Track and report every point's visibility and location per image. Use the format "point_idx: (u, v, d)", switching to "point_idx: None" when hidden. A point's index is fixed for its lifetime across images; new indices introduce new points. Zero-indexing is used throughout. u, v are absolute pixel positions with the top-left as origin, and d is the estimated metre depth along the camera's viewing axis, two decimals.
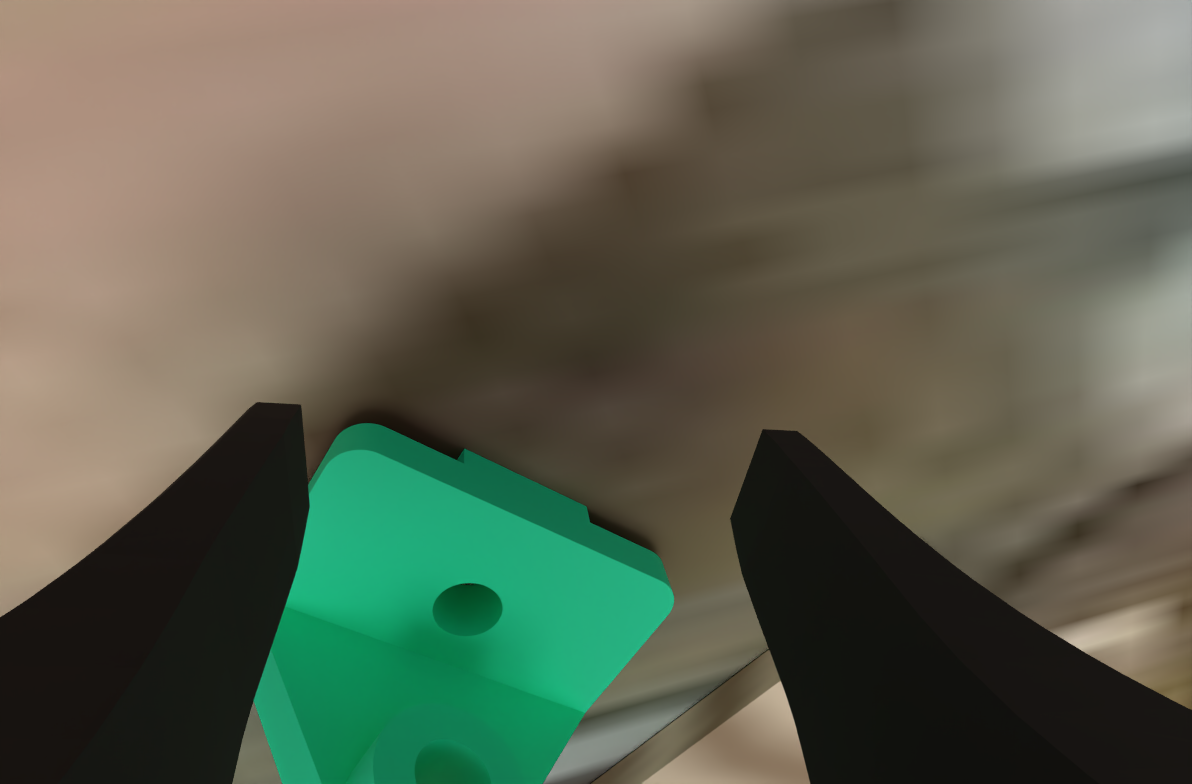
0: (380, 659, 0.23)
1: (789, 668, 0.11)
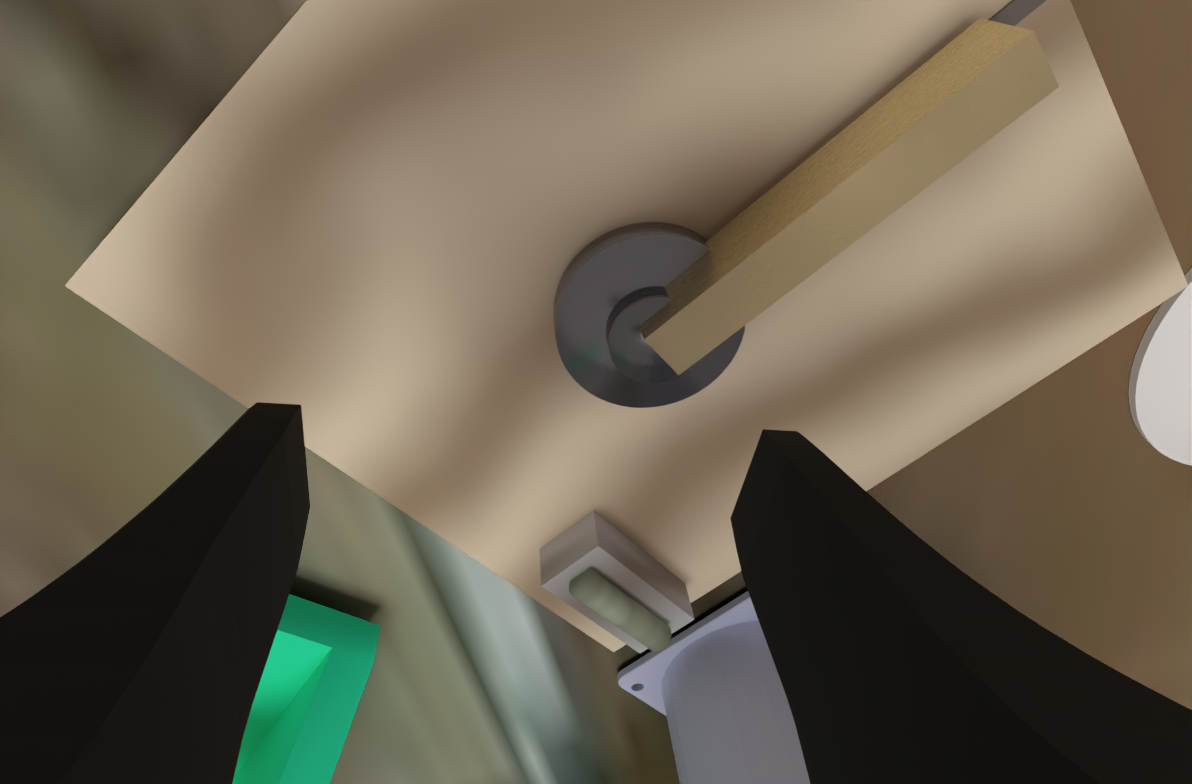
0: (237, 783, 0.27)
1: (789, 668, 0.11)
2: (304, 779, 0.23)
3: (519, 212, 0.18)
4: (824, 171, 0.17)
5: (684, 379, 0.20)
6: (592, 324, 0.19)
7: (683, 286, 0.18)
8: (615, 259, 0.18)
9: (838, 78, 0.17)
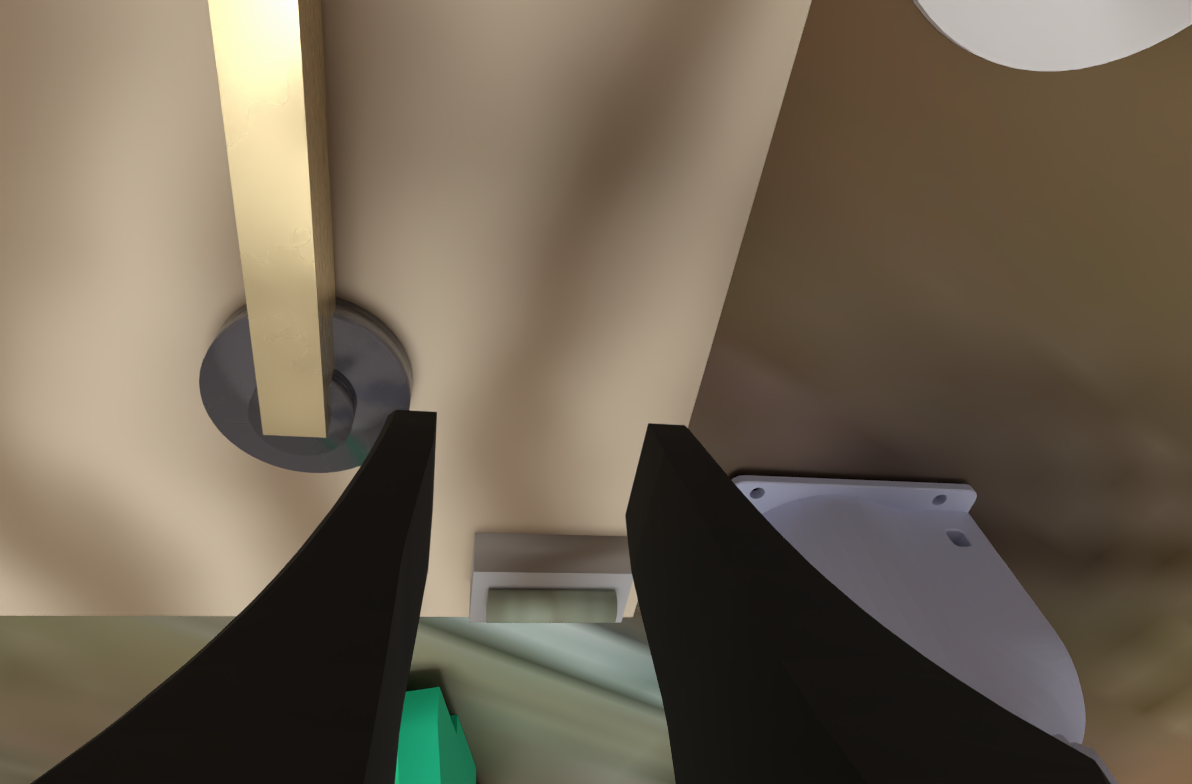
0: None
1: (664, 669, 0.10)
2: None
3: (143, 382, 0.19)
4: None
5: (384, 413, 0.19)
6: None
7: None
8: (213, 375, 0.18)
9: (217, 85, 0.15)
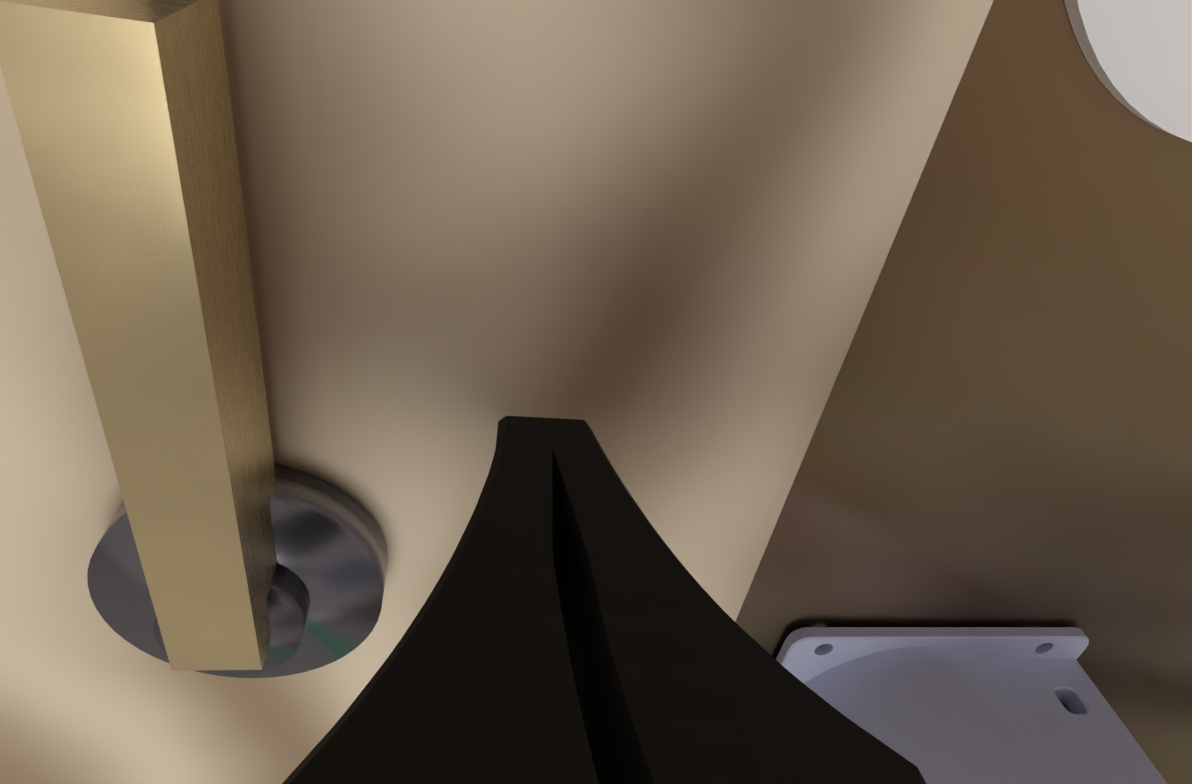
0: None
1: None
2: None
3: (20, 569, 0.14)
4: None
5: (348, 609, 0.14)
6: None
7: None
8: (108, 576, 0.13)
9: None
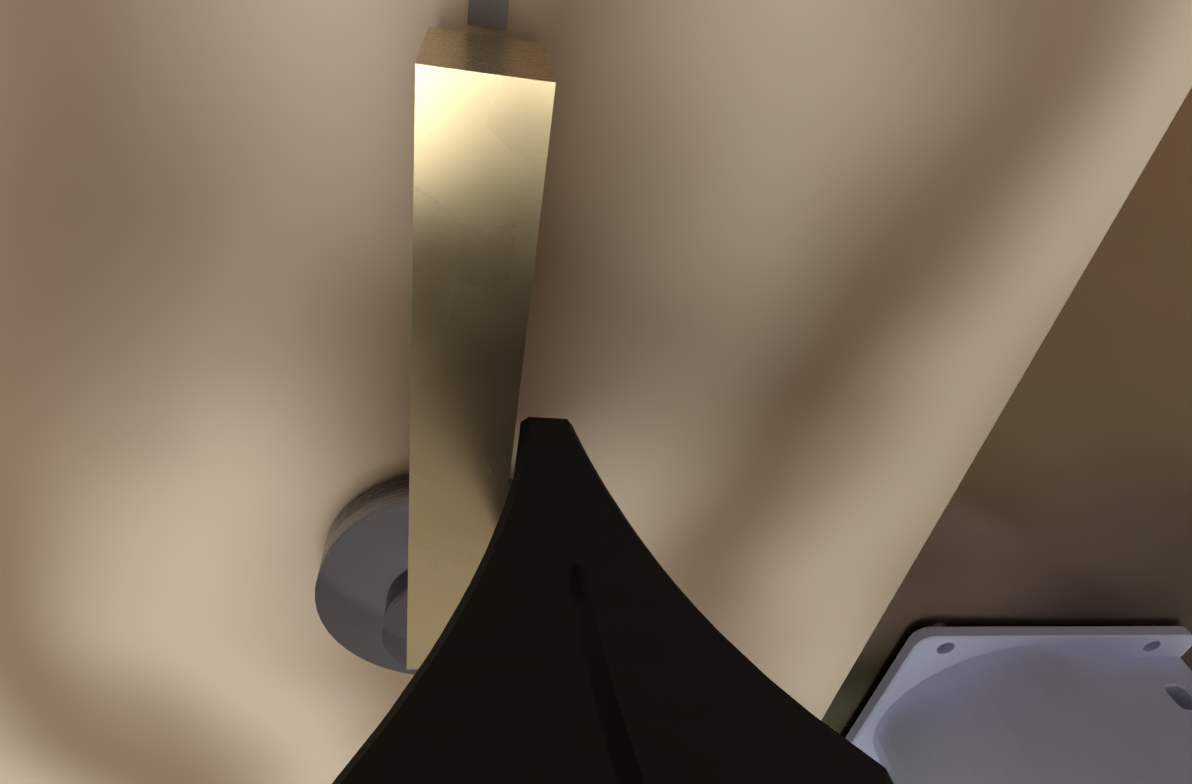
0: None
1: None
2: None
3: (234, 573, 0.15)
4: None
5: None
6: None
7: None
8: (335, 580, 0.14)
9: (369, 227, 0.11)
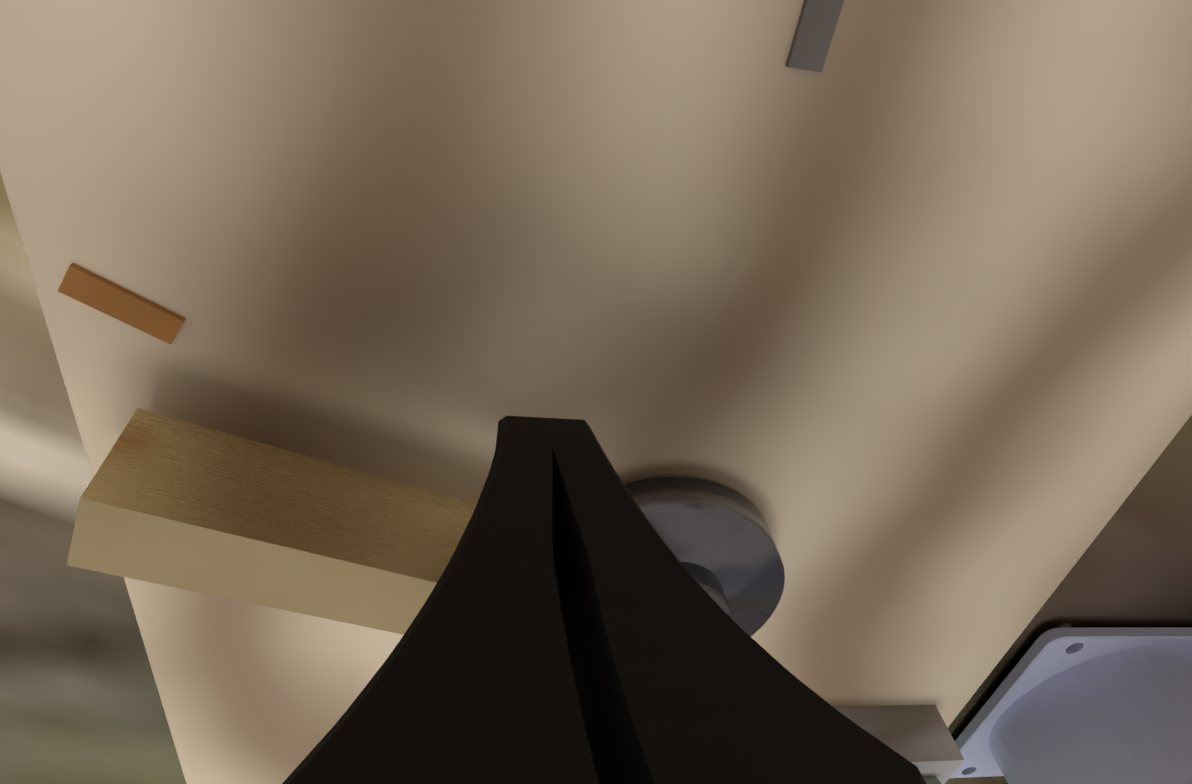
0: None
1: None
2: None
3: None
4: None
5: (728, 545, 0.14)
6: None
7: None
8: None
9: (653, 251, 0.12)
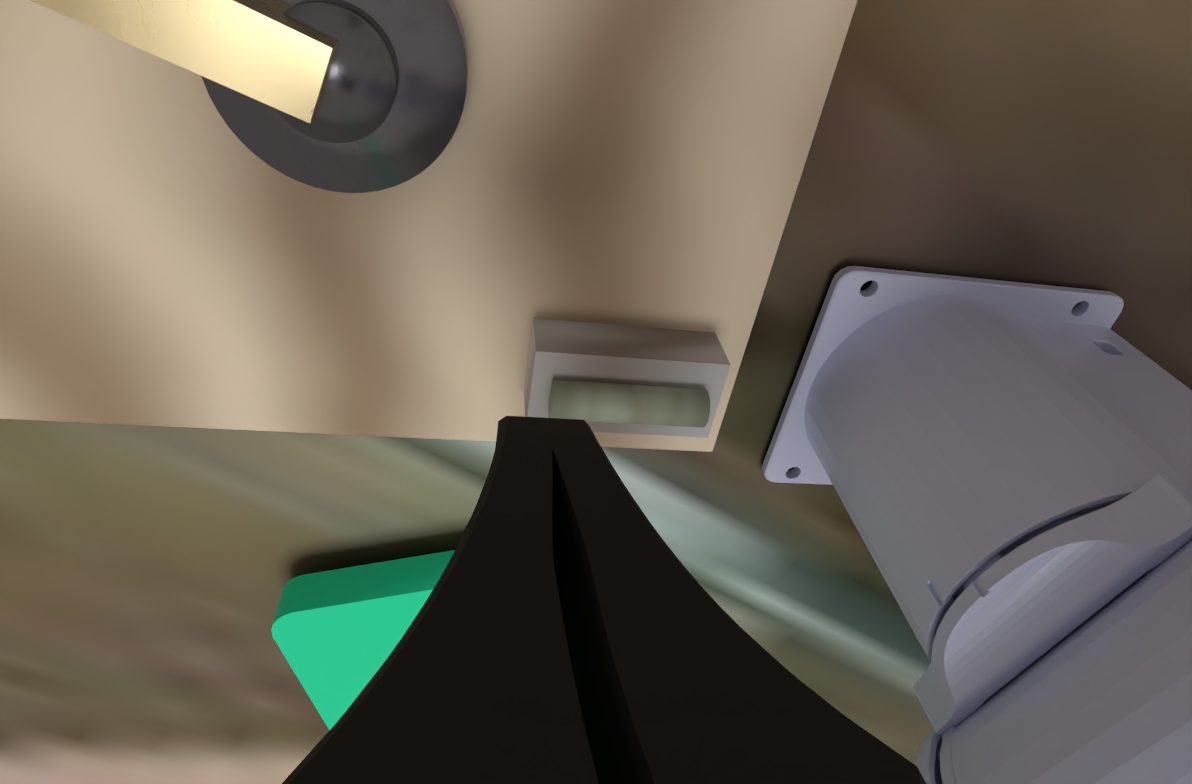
0: None
1: None
2: None
3: (121, 55, 0.15)
4: None
5: None
6: (369, 145, 0.15)
7: None
8: (278, 154, 0.15)
9: None
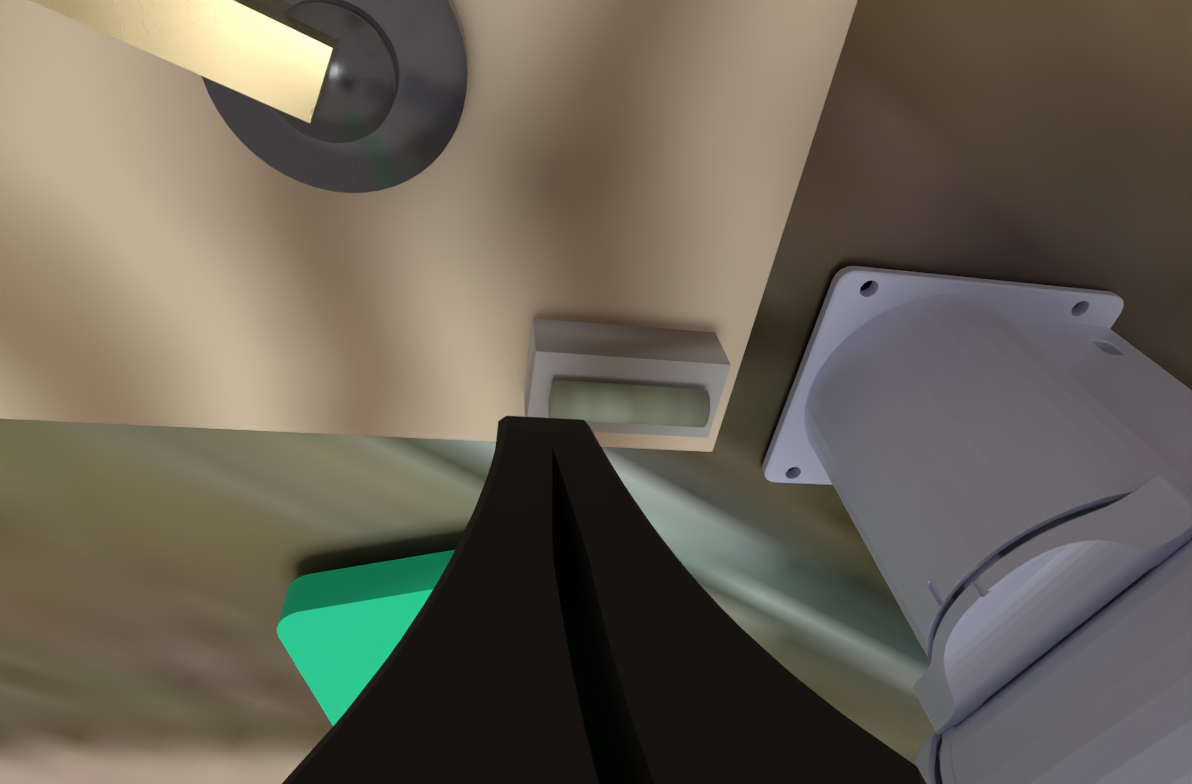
0: None
1: None
2: None
3: (121, 55, 0.15)
4: None
5: None
6: (369, 145, 0.15)
7: None
8: (278, 153, 0.15)
9: None
